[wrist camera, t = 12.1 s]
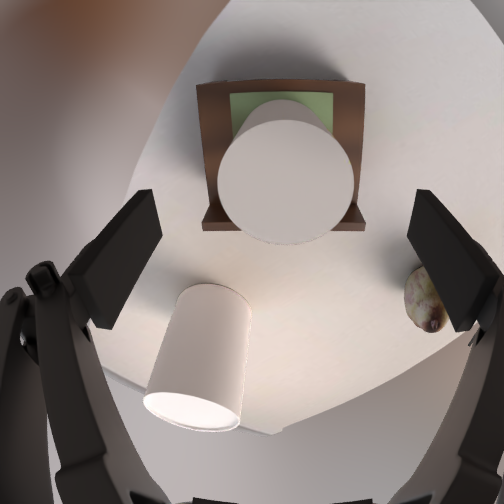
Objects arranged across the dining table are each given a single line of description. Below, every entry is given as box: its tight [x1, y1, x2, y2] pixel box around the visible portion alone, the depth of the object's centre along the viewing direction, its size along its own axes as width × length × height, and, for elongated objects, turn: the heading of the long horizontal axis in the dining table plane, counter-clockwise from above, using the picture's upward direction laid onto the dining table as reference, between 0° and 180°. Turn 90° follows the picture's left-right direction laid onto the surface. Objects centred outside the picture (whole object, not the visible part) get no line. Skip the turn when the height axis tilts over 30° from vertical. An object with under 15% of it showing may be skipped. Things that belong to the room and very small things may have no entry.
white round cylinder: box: [218, 99, 354, 245], centre depth 22 cm, size 8×8×12 cm
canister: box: [143, 284, 252, 432], centre depth 43 cm, size 14×14×20 cm
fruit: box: [404, 266, 449, 333], centre depth 38 cm, size 10×9×12 cm
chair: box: [196, 79, 366, 231], centre depth 28 cm, size 14×16×10 cm
